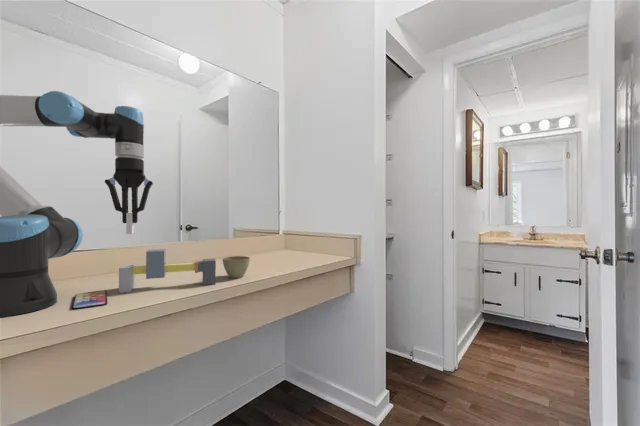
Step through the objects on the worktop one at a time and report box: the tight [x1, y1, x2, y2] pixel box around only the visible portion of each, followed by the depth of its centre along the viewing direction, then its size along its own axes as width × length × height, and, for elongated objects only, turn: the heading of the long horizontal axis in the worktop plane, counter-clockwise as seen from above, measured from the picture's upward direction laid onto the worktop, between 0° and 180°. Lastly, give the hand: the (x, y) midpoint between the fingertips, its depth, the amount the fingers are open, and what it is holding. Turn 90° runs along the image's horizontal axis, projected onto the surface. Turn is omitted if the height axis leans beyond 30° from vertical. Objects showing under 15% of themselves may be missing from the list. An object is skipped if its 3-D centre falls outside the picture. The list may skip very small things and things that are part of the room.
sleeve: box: [145, 248, 167, 280], centre depth 97 cm, size 5×5×8 cm
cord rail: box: [118, 258, 217, 294], centre depth 98 cm, size 28×7×8 cm, turn 113°
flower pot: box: [222, 255, 251, 279], centre depth 113 cm, size 10×10×7 cm
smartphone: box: [71, 290, 108, 311], centre depth 83 cm, size 7×1×15 cm
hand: (130, 233), depth 94 cm, fingers closed
